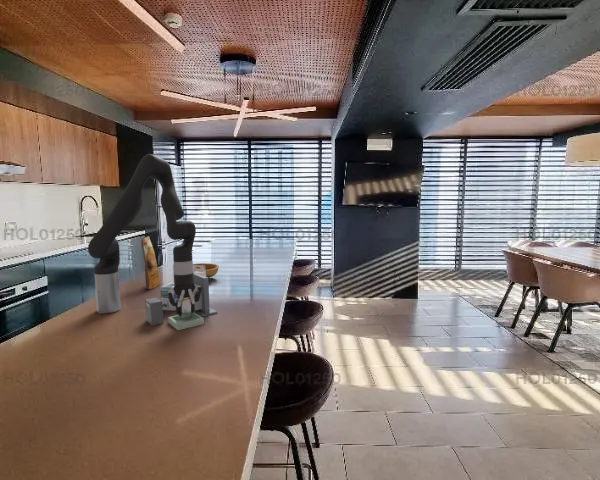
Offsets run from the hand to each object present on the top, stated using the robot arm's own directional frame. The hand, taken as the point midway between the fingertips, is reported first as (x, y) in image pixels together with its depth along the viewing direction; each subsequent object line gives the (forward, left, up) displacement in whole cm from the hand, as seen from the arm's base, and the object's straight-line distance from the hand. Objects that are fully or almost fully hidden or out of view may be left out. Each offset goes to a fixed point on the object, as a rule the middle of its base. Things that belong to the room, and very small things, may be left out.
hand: (185, 313), depth 141 cm
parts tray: (0, 0, -4) cm, 4 cm away
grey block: (-9, +10, -4) cm, 14 cm away
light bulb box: (+4, +24, -4) cm, 25 cm away
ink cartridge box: (+21, +38, -4) cm, 44 cm away
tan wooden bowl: (+34, +66, -4) cm, 74 cm away
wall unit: (+9, +11, -4) cm, 15 cm away
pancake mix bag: (+8, +70, -4) cm, 70 cm away
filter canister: (0, 0, -2) cm, 2 cm away
